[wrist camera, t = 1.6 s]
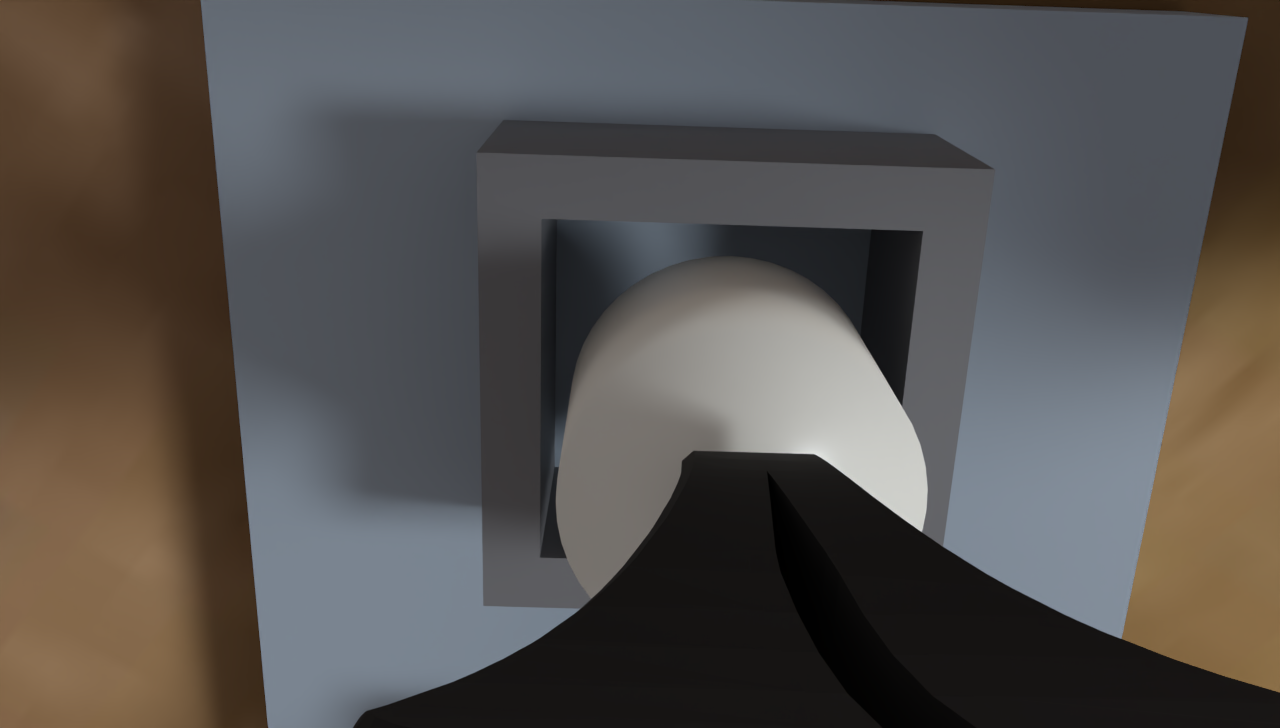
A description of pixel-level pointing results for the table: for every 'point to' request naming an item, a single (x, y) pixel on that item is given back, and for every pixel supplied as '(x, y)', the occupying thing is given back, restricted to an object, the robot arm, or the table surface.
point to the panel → (670, 234)
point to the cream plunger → (719, 401)
